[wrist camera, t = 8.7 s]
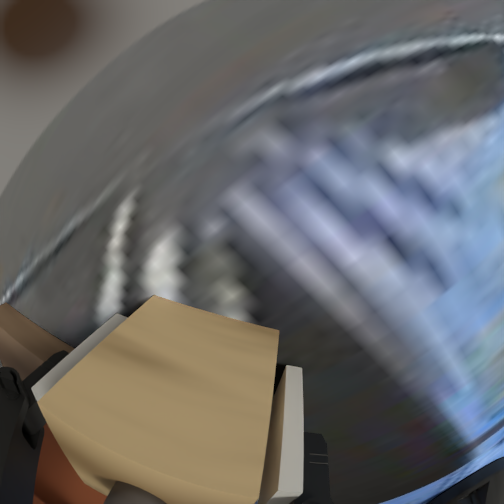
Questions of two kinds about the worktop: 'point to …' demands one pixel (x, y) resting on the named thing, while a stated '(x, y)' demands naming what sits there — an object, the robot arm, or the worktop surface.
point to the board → (25, 342)
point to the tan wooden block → (169, 408)
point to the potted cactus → (60, 478)
